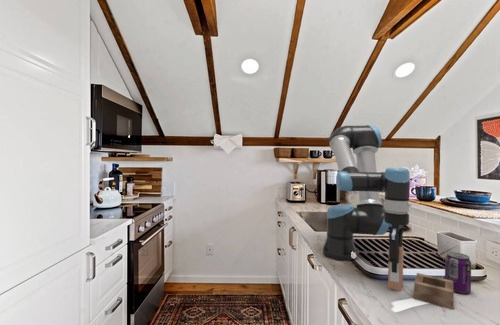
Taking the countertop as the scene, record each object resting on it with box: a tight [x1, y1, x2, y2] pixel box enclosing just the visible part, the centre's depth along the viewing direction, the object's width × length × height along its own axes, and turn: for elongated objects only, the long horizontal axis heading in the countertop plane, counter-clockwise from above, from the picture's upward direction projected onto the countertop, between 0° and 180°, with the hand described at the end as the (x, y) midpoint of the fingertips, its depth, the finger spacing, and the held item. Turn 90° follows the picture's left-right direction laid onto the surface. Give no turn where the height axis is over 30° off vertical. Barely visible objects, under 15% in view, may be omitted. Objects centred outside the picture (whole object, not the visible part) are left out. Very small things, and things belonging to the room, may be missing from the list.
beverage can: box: [444, 251, 472, 294], centre depth 91 cm, size 7×7×12 cm
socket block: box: [413, 272, 455, 310], centre depth 86 cm, size 10×10×5 cm
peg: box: [387, 246, 404, 292], centre depth 92 cm, size 4×4×14 cm
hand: (395, 278), depth 92 cm, fingers closed on peg, 4 cm apart
